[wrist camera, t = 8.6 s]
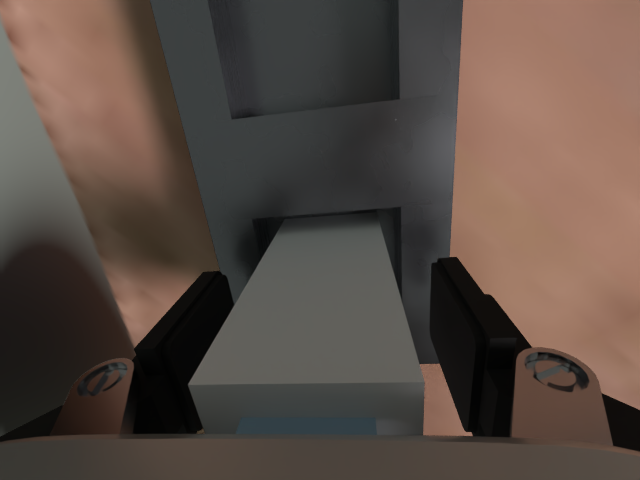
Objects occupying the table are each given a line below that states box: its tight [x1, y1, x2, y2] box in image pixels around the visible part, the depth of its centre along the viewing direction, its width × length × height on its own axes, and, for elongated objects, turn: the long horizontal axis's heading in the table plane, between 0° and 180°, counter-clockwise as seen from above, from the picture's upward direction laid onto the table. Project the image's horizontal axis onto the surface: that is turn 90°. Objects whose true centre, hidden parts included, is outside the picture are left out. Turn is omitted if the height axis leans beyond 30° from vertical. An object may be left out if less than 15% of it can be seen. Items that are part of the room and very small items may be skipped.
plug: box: [188, 212, 424, 435], centre depth 10 cm, size 4×4×10 cm
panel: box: [150, 0, 463, 364], centre depth 12 cm, size 18×9×3 cm, turn 6°
